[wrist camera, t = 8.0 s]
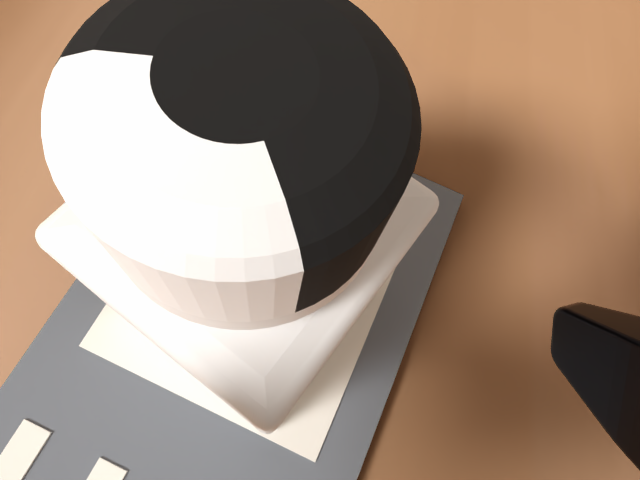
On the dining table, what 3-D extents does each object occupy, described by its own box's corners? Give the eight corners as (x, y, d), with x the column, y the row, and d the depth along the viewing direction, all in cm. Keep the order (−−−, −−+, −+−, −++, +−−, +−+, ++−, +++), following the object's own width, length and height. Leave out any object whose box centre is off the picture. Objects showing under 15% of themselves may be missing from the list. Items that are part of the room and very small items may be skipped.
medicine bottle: (243, 175, 20) (215, -147, 9) (386, 280, 19) (550, 58, 8) (113, 309, 18) (-145, 89, 7) (268, 439, 17) (272, 434, 6)
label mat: (458, 201, 22) (464, 194, 21) (275, 686, 15) (275, 697, 14) (212, 93, 22) (211, 82, 22) (-69, 503, 16) (-84, 505, 15)
